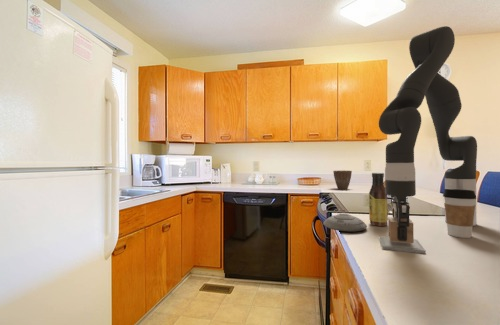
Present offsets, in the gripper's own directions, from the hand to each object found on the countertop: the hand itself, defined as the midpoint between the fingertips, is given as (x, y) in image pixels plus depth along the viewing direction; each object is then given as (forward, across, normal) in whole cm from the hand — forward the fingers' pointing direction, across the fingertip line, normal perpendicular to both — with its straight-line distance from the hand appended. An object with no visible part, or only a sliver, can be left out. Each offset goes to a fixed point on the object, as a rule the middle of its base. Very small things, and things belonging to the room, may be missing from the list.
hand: (400, 237), depth 72 cm
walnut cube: (+1, 0, 0) cm, 1 cm away
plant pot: (+3, +145, +23) cm, 147 cm away
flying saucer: (+3, +15, +16) cm, 22 cm away
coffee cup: (+3, +18, -19) cm, 26 cm away
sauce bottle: (+3, +24, +4) cm, 24 cm away
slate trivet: (+2, 0, 0) cm, 2 cm away
